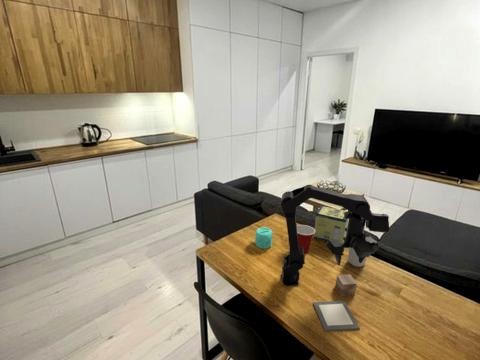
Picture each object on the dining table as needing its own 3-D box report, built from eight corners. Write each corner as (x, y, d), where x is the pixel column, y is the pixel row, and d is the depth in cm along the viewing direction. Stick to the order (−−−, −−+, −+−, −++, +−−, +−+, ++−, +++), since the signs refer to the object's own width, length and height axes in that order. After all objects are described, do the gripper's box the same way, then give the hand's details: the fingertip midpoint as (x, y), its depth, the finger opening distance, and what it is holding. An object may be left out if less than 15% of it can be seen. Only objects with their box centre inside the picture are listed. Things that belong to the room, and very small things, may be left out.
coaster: (324, 331, 87) (324, 329, 87) (313, 303, 98) (313, 302, 98) (359, 329, 87) (359, 327, 87) (344, 301, 99) (344, 300, 99)
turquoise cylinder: (255, 247, 133) (255, 234, 131) (257, 239, 141) (257, 226, 138) (270, 249, 132) (271, 235, 129) (272, 241, 139) (272, 228, 137)
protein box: (318, 230, 150) (320, 205, 145) (346, 237, 142) (350, 211, 137) (313, 238, 141) (315, 212, 136) (343, 246, 134) (346, 219, 129)
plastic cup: (316, 247, 133) (318, 226, 129) (309, 258, 124) (311, 236, 121) (296, 241, 139) (297, 221, 135) (288, 251, 130) (289, 230, 126)
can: (366, 268, 117) (370, 245, 113) (349, 266, 119) (352, 244, 115) (362, 258, 124) (366, 236, 120) (346, 256, 125) (349, 235, 122)
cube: (341, 295, 102) (342, 284, 100) (335, 285, 107) (337, 274, 105) (354, 295, 102) (356, 283, 100) (348, 285, 107) (350, 274, 106)
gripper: (344, 242, 88) (338, 280, 93) (393, 238, 91) (384, 274, 96) (328, 226, 98) (323, 261, 103) (372, 223, 101) (365, 256, 106)
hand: (349, 263), depth 102 cm, fingers open, 9 cm apart
